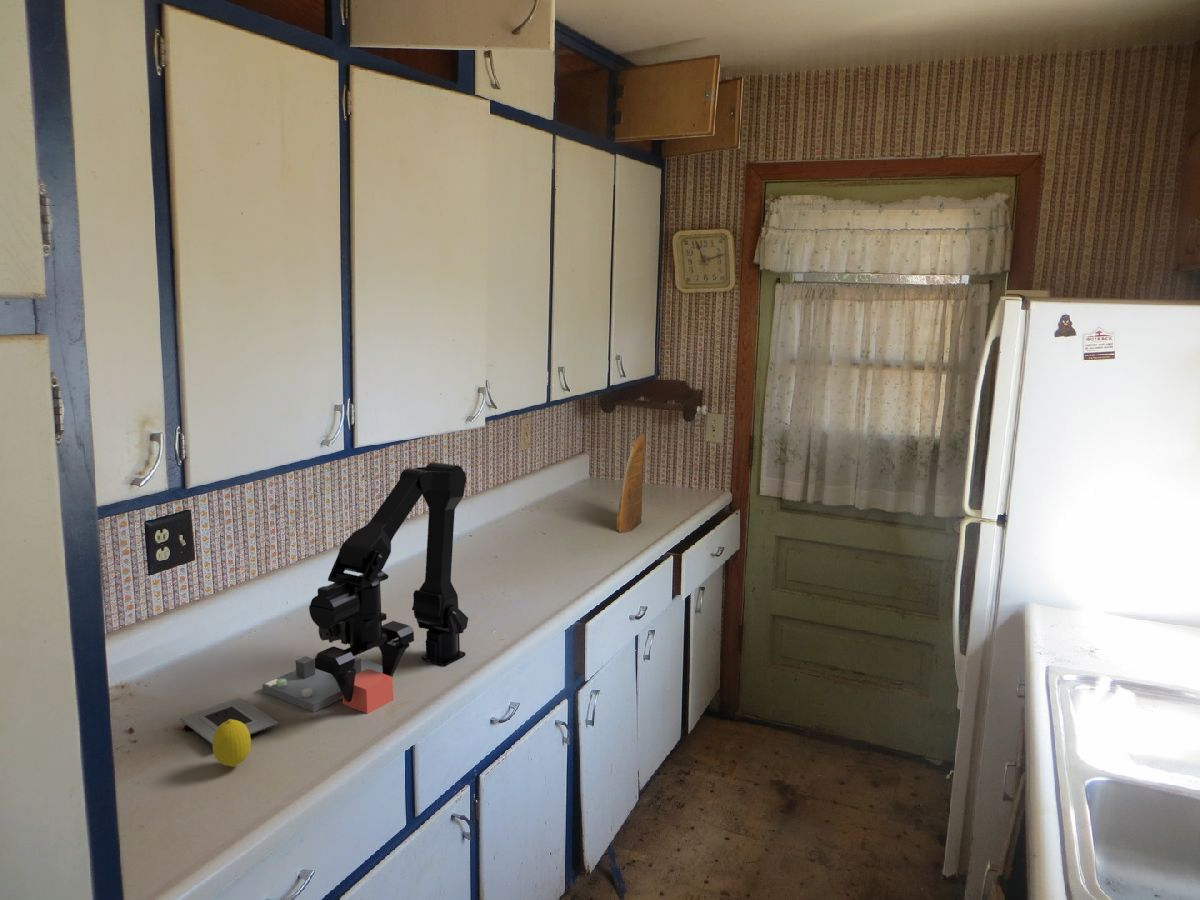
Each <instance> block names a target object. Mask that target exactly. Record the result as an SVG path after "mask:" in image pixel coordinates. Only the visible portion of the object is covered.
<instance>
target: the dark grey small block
mask: <svg viewBox="0 0 1200 900" xmlns="http://www.w3.org/2000/svg"><path fill="white" fill-rule="evenodd" d="M361 659H362V658H360V657H359V656H357V657H355V665H354V666H353V669H356V674H357V673H360V672H361Z"/></svg>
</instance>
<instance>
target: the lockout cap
mask: <svg viewBox="0 0 1200 900" xmlns="http://www.w3.org/2000/svg"><path fill="white" fill-rule="evenodd" d="M393 686H394V684H393V676H389V675H386V674H383V673H380V672H377V671H374V670H371V669H366V670H364V671H362V672H360V673H357V674H356V675H355V682H354V689H353V696H352V700H351V702H347V701H346V700H345V699H344V696H343V698H342V705H345V706H347V707H349V708H352V709H354V710H357V711H360V712H363V713H365V714H369V713H371V712H373V711H375V710H377V709H379V708H381V707H382V706H384V705H386V704H388V703H390V702H392V701H393V700H394V687H393Z"/></svg>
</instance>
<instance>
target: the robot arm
mask: <svg viewBox="0 0 1200 900" xmlns="http://www.w3.org/2000/svg"><path fill="white" fill-rule="evenodd" d="M466 484H467V473H466V471H464V469H463V467H462V466H460V465H456V464H449V463H442V462H441V463H440V462H435V461H434V462H433V461H432V462H429V463H427V464H426V466H420V467H419V466H417V467H412V468H410V467H408V468H404V469H403V470H402V471H401V472H400V475H399V479H398V481H397V483H396V484H395V486H394V487H393V488H392V490H391V491H390V492H389V494H388V495H387V497H386V498H385V500H384V501H383V502H382V504H381V505H380V507H379V508H378V510H377V511H376V512H375V514H374V515H373V517H372V518H371V519H370V521H369V522H368V523H367V524H366V525H365V526H362V527H361V528H359V529H357V530H355V531H354V532H352V533H351V534H350V535H349V537H347V539H346V540H345V541H344V542H343V543H342V545H341V546H340V548H339V551H338V554H337V556H336V558H335V561H334V563H333V565H332V568H331V571H330V573H329V575H328V577H327V581H328V582H331V584H329V585H324V586H321V587H317V595H315V596H314V597H313V598H312V599H311V601H310V603H309V606H308V610H309V611H308V612H309V615H310V618H311V620H312V621H313V623H314V624H315V625H316V626H317V627H318V635H319V638H320V640H321V641H323V642H324V641H328V642H329V643H330V644H331V643H333V642H335V641H340V643H341V644H343V645H349V647H347V648H345V649H342V648H339V647H337V646H330V647H328V648H325V649H324V650H321V651H319V652H317V654H315V656H314V662H315V668H316V669H318V670H321V671H324V672H327V673H330V674H332V675H333V677H334V678H335V680H336V682H337V683H338V686H339V688H340V690H341V692H342V694H343V696H344V699H345V700H346V701H347V702H351V700H352V696H353V689H354V682H355V675H356V669H353V666H354V665H355V657H360V656H361V655H363V654H366V653H368V652H370V651H373V650H375V649H377V648H378V649H379V651H380V653H381V665H382V669H383V674H386V675H389V676H392V677H393V676H394V673H395V672H396V669H397V667H398V665H399V663H400V661H401V659H402V657H403V655H404V654H405V652H406V650H407V649H409V647H410V644H411V643H412V642H415V633H414V632H415V631H414V629H413V627H412V626H411V625H409V624H405V623H402V622H398V621H394V620H392V621H390V622H386V623H385V624H383V623H382V622H383V621H386V620H387V613H384V612H382V598H381V597H382V593H381V590H382V589H381V582H383V581H386V580H388V579H389V574H387V573H386V572H385V571H383V569H384V567H385V565H386V563H387V561H388V559H389V558H390V555H391V553H392V541H393V538H394V537H395V535H396V534H397V532H398V531H399V529H400V527H401V526H402V525H403V523H404V521H405V520H406V519H407V517H408V515H410V513H411V511H412V510H413V509H414V507H415V506H416V504H417V503H418V501H419V500H420V498H421V496H422V498H423V499H424V501H425V503H426V505H427V507H428V522H427V540H426V557H425V574H424V575H425V576H424V582H423V583H422V585H421V586H420V587H419V589H414V592H413V595H412V596H413V602H412V603H413V604H412V608H411V610H412V611H413V616H414V618H415V619H416V622H417V625H418V628H419V629H423V630H424V629H425V630H426V634H425V635H426V639H425V654H424V653H423V654H422V655H421V657H420V658H421V659H422V660H425V661H428V662H431V663H434V664H438V665H440V666H444V667H445V666H448V665H449V663H450V664H451V663H454V662H455V661H457V660H459V659H461V658H463V657H465V656H466V652H465V651H462V650H461V649H460V646H461V645H460V642H461V641H460V634H463V633H465V632H464V630H466V629H467V628H468V624H469V616H468V615H466V614H465V613H464V612H463V611H462V610H461V609H460V608H459V597H458V593H457V591H456V589H455V587H454V586H453V582H452V565H453V564H452V563H453V547H454V546H453V545H454V528H455V511H456V508H457V507H458V505H459V504H460V502H461V501H462V499H463V497H464V496H465V488H466ZM346 571H348V572H353V573H358V574H359V575H357V574H353V573H347V572H346ZM447 664H448V665H447Z"/></svg>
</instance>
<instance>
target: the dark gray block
mask: <svg viewBox="0 0 1200 900" xmlns="http://www.w3.org/2000/svg"><path fill="white" fill-rule="evenodd" d="M295 670H296V676H299V677H302V678H304V679H305V678H307V677H310V676H312V675H314V674H315V658H312V657H310V656H306V655H305V656H303V657H300V658H298V659H296V660H295Z"/></svg>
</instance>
